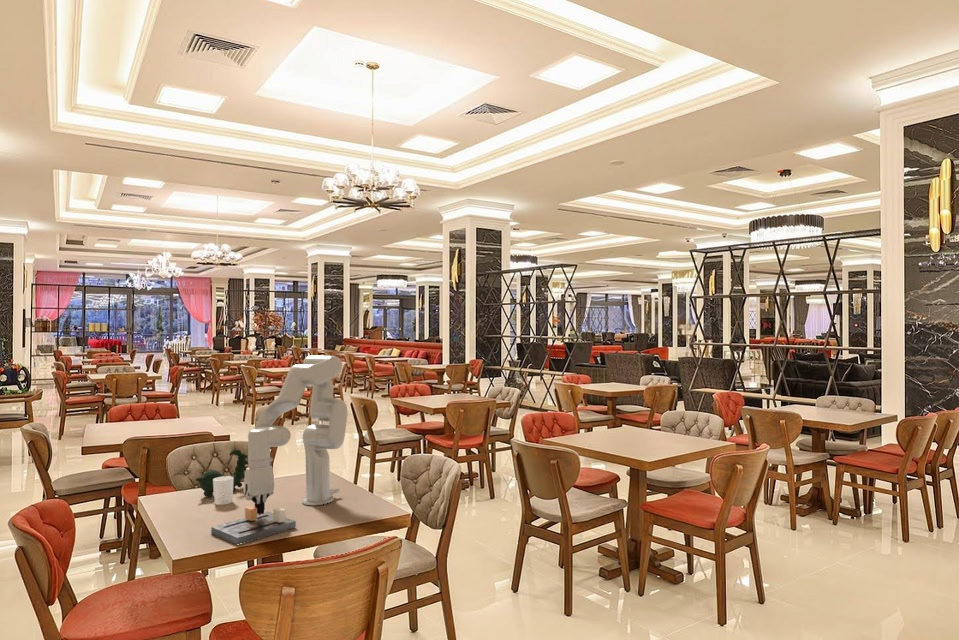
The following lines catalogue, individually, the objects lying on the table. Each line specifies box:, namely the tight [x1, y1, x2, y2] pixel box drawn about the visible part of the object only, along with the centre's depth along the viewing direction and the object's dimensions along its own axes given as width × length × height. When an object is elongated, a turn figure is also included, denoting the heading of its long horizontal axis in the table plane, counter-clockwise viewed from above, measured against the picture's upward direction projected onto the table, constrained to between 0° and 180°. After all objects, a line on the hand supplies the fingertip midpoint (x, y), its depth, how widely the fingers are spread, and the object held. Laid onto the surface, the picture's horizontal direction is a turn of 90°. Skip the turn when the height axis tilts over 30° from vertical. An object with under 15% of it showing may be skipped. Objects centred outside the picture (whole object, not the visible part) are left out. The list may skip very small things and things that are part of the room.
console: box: [210, 511, 297, 545], centre depth 219 cm, size 22×18×3 cm
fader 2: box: [272, 507, 287, 523], centre depth 222 cm, size 2×4×5 cm, turn 50°
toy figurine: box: [195, 448, 248, 498], centre depth 270 cm, size 9×19×25 cm
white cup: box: [213, 475, 234, 506], centre depth 256 cm, size 8×8×10 cm
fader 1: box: [244, 505, 258, 521], centre depth 224 cm, size 2×4×5 cm, turn 50°
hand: (259, 513), depth 227 cm, fingers closed
